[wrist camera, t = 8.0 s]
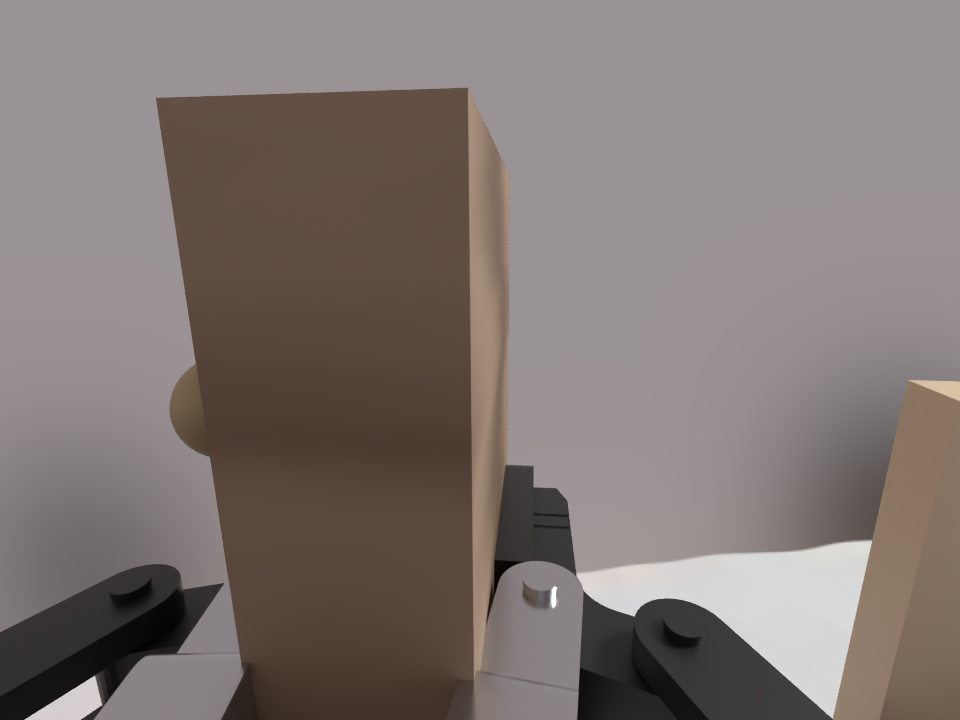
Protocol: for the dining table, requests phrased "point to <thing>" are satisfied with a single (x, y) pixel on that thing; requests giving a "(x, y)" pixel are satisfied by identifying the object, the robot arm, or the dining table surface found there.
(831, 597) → the dining table surface
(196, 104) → the door panel
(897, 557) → the cabinet frame
